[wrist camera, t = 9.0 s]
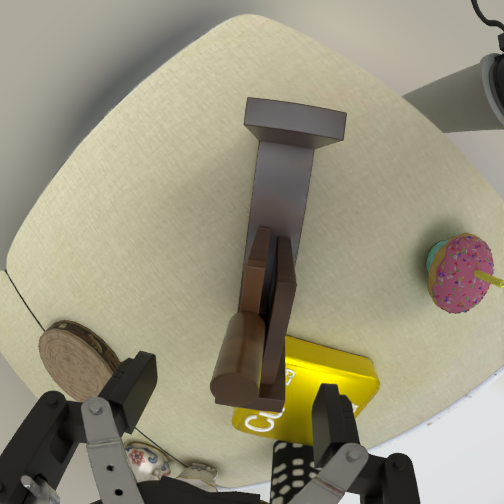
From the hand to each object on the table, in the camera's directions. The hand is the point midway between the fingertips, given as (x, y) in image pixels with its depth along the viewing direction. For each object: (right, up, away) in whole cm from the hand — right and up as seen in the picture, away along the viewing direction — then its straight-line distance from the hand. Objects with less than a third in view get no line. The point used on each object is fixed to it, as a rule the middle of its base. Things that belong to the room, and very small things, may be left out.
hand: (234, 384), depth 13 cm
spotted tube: (+9, -26, +27) cm, 38 cm away
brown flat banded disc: (-26, -11, +25) cm, 38 cm away
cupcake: (+23, +5, +15) cm, 28 cm away
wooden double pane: (+3, +8, +16) cm, 18 cm away
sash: (+1, +5, +15) cm, 16 cm away
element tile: (+7, -12, +22) cm, 26 cm away
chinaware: (-19, -37, +33) cm, 53 cm away
